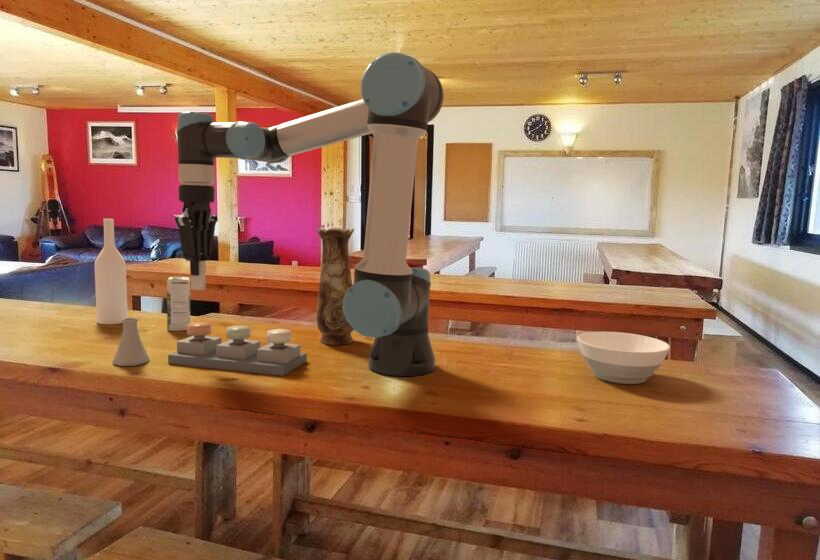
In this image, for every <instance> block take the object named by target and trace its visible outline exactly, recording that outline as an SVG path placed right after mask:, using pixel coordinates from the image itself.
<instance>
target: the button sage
mask: <svg viewBox="0 0 820 560" xmlns="http://www.w3.org/2000/svg"><path fill="white" fill-rule="evenodd" d="M225 329H226V337H225V338H226V339H228V340H231V339H233V345H241V346H242V345H244V340H247V339H250V338H251V327H250V326H248V325H230V326H228V327H226V328H225Z"/></svg>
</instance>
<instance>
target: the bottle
mask: <svg viewBox="0 0 820 560" xmlns="http://www.w3.org/2000/svg"><path fill="white" fill-rule="evenodd" d="M115 242H116V241H115V220H114V218H103V248H102V249H101V250H100V252H99V254H98V255H97V257H96V259H95V260H94V287H95V288H94V289H95V307H96V308H95V313H96V323H97V324H98V325H119V324H123V322H122V321H121V320H122V319H124V318H129V317H128V316H129V315H128V293H127V292H128V291H127V288H128V287H127V286H128V285H127V265H126V261H125V258H124V257H123V255H122V254H121V253H120V251H119V250H118V248H117V247H116V243H115Z"/></svg>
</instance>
